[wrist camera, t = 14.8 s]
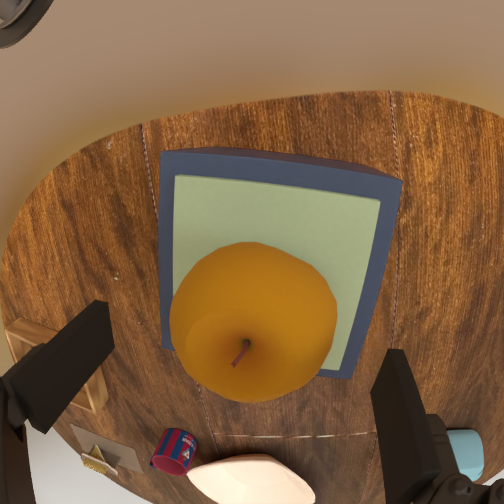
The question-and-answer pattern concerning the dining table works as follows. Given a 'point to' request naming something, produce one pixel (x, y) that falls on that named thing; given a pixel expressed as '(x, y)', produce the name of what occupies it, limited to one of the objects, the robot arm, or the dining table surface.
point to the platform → (105, 452)
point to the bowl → (251, 481)
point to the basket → (34, 334)
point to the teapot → (467, 452)
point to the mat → (280, 233)
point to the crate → (292, 174)
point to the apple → (252, 322)
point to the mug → (174, 452)
